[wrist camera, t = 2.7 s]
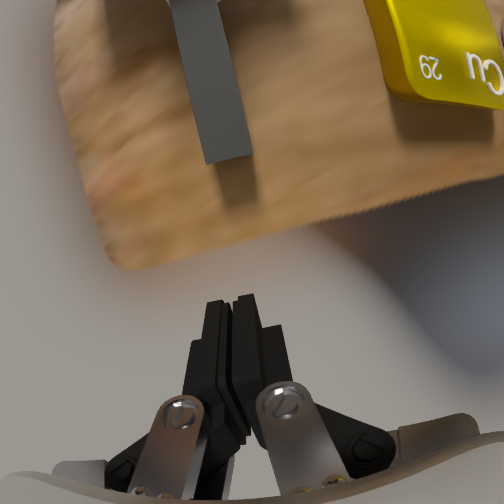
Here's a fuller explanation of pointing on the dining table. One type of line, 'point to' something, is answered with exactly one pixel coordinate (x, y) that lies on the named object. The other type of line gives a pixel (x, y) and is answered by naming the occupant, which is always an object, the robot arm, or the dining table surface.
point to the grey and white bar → (210, 79)
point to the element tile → (439, 52)
